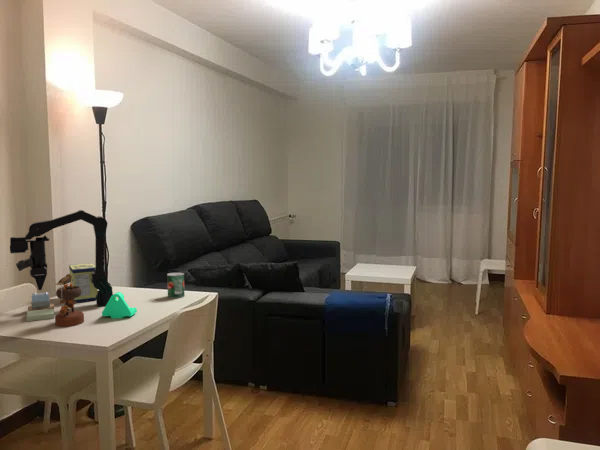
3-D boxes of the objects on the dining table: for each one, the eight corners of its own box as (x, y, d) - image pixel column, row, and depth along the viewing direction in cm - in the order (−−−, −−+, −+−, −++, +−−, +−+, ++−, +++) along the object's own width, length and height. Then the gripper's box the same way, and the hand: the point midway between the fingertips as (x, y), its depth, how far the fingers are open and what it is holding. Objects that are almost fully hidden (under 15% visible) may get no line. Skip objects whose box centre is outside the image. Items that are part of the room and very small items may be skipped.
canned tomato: (164, 297, 250) (163, 274, 248) (176, 293, 256) (175, 271, 255) (176, 299, 245) (175, 276, 244) (188, 295, 252) (187, 273, 251)
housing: (50, 304, 229) (49, 290, 228) (50, 307, 224) (49, 292, 224) (32, 306, 226) (31, 292, 225) (31, 309, 221) (30, 294, 221)
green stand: (54, 313, 222) (53, 308, 222) (54, 318, 214) (54, 313, 214) (27, 315, 218) (27, 311, 218) (26, 321, 210) (26, 316, 210)
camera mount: (137, 313, 221) (136, 289, 220) (131, 318, 214) (130, 294, 213) (109, 313, 222) (108, 289, 221) (102, 318, 214) (101, 293, 213)
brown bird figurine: (80, 327, 202) (73, 276, 200) (50, 330, 200) (43, 279, 198) (90, 316, 217) (83, 268, 215) (62, 319, 215) (55, 272, 213)
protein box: (93, 293, 258) (91, 262, 256) (98, 300, 244) (97, 267, 243) (70, 296, 252) (68, 264, 251) (74, 303, 239) (72, 269, 237)
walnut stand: (54, 308, 231) (53, 303, 230) (54, 311, 224) (53, 307, 224) (28, 310, 226) (28, 306, 226) (27, 314, 220) (27, 310, 220)
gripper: (17, 250, 228) (20, 285, 229) (15, 256, 211) (17, 294, 212) (46, 248, 232) (48, 283, 234) (45, 254, 216) (48, 291, 217)
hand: (40, 287), depth 224 cm, fingers open, 9 cm apart
